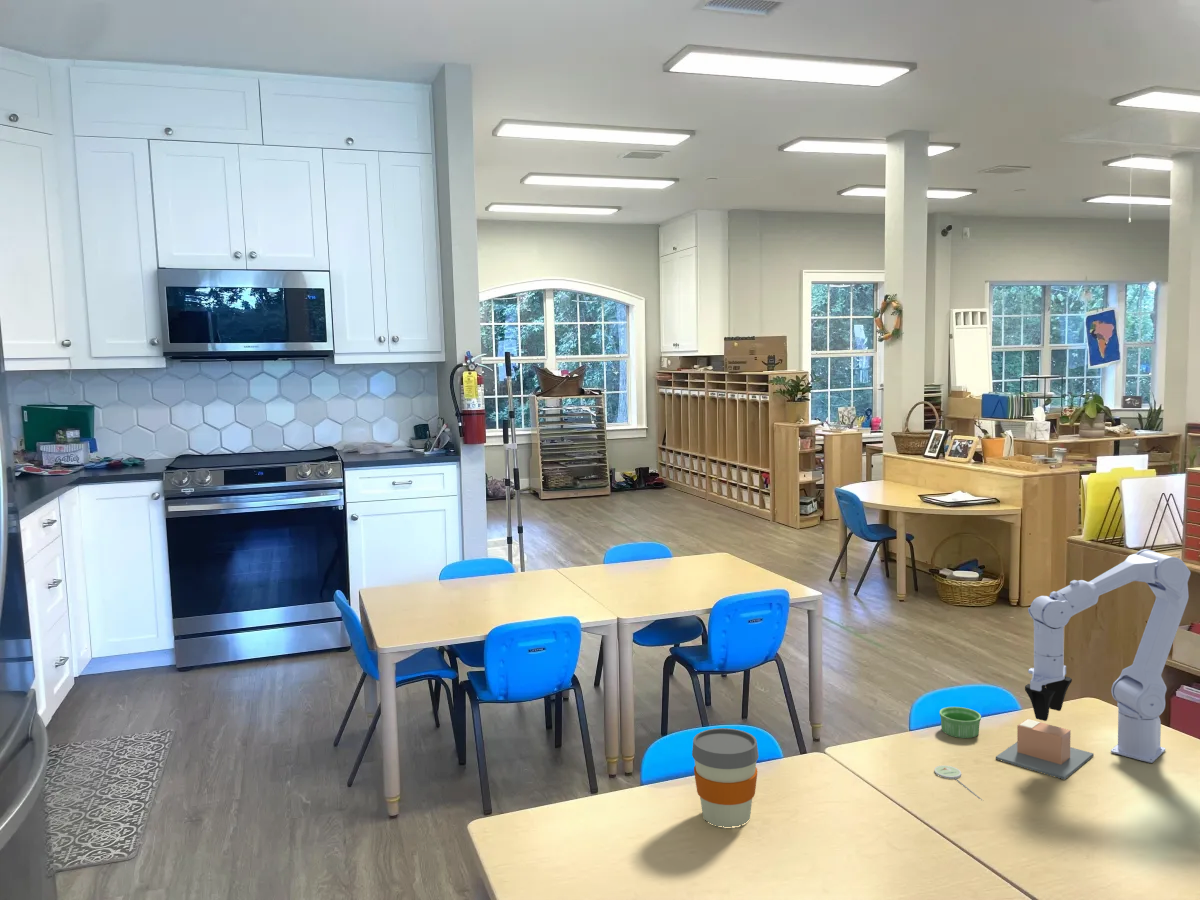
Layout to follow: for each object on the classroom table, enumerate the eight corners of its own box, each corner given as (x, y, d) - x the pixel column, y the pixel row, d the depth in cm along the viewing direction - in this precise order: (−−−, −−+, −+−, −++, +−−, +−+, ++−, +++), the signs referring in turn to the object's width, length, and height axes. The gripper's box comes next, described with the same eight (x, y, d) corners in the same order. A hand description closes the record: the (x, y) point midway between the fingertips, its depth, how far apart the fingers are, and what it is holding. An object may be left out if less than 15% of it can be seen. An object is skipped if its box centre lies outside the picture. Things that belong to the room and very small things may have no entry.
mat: (1026, 737, 198) (1026, 735, 198) (1093, 756, 188) (1093, 753, 187) (995, 759, 187) (995, 756, 187) (1064, 779, 177) (1064, 777, 177)
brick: (1070, 757, 186) (1070, 729, 185) (1061, 764, 183) (1061, 736, 182) (1026, 745, 193) (1027, 718, 192) (1017, 752, 189) (1017, 724, 189)
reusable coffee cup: (758, 836, 159) (757, 756, 158) (690, 830, 161) (688, 752, 160) (760, 803, 171) (759, 729, 170) (696, 799, 173) (694, 726, 172)
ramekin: (944, 739, 199) (944, 720, 199) (935, 723, 208) (935, 706, 207) (985, 740, 197) (985, 721, 197) (975, 725, 206) (975, 707, 206)
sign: (970, 801, 169) (929, 766, 184) (970, 805, 169) (929, 770, 184) (995, 798, 170) (952, 764, 184) (995, 802, 170) (952, 768, 184)
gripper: (1042, 641, 194) (1042, 700, 195) (1015, 657, 184) (1015, 719, 185) (1076, 648, 189) (1076, 708, 190) (1050, 664, 179) (1050, 727, 180)
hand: (1048, 714), depth 187 cm, fingers open, 7 cm apart
